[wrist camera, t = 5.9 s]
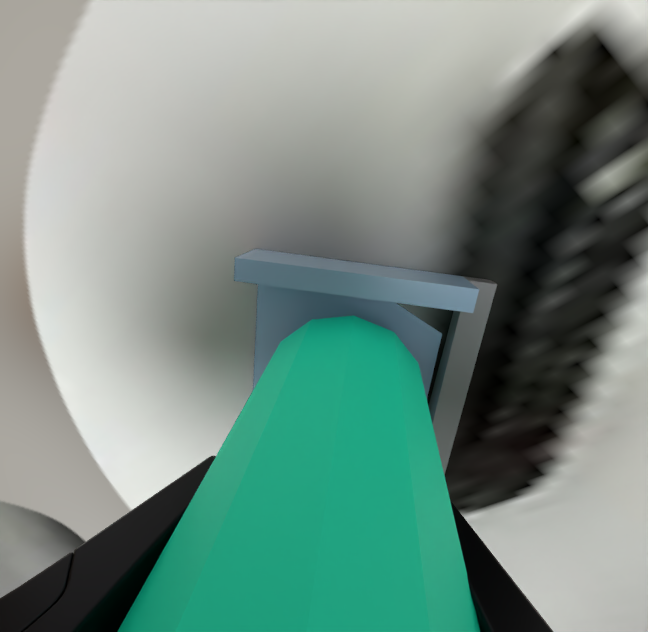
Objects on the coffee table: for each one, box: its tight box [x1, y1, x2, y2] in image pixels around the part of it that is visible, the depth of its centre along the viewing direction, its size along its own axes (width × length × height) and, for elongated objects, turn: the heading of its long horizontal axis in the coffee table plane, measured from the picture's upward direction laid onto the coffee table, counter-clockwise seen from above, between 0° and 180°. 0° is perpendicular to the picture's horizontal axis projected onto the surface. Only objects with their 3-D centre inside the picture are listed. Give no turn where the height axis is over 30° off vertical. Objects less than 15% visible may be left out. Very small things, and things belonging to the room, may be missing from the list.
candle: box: [117, 315, 480, 632], centre depth 8 cm, size 6×6×12 cm
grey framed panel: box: [234, 249, 497, 475], centre depth 15 cm, size 9×17×2 cm, turn 174°
